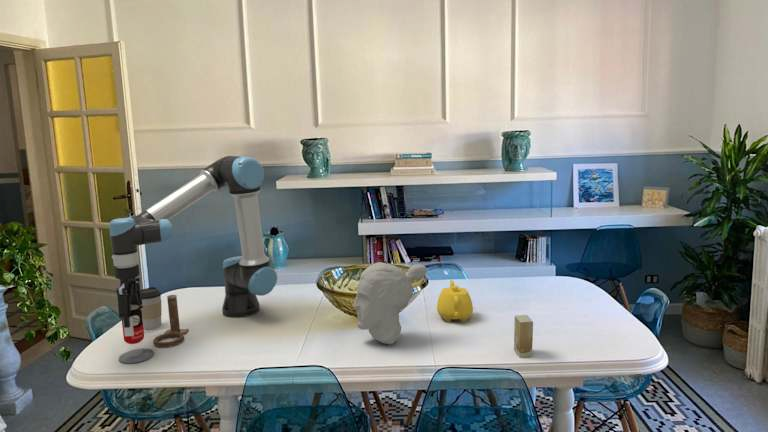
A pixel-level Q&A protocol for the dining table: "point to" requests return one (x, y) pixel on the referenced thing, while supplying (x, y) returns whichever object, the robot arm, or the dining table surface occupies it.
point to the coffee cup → (151, 308)
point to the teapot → (454, 303)
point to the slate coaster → (136, 356)
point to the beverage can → (135, 326)
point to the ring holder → (171, 326)
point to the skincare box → (523, 336)
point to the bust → (384, 298)
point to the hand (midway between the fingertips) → (133, 331)
